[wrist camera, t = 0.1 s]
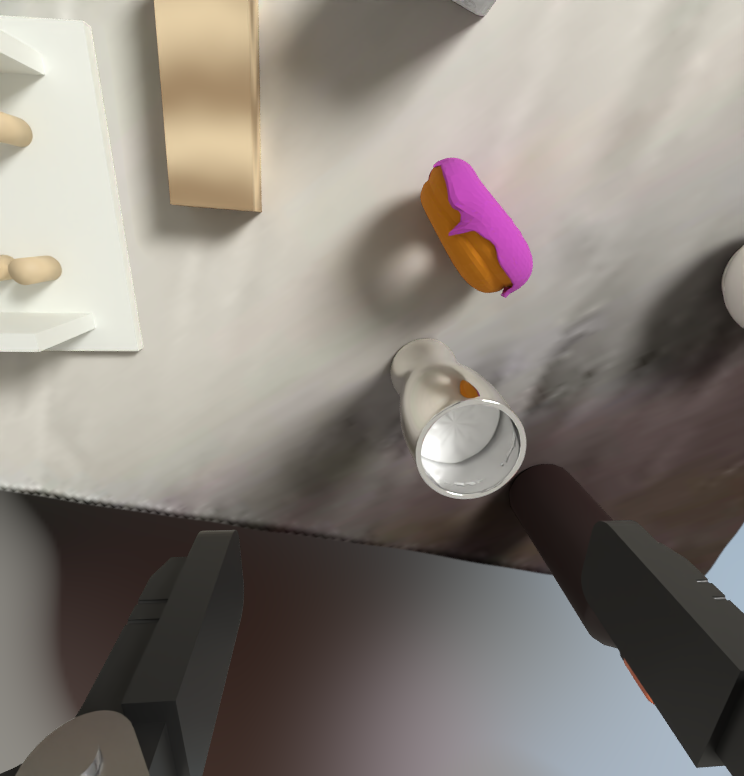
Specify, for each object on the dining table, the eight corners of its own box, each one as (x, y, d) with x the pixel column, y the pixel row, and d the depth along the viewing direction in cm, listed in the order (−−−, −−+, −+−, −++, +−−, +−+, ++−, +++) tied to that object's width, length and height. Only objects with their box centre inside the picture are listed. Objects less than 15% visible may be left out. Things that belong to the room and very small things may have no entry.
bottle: (581, 467, 44) (761, 645, 25) (558, 522, 46) (708, 723, 28) (519, 457, 43) (659, 635, 24) (498, 513, 45) (612, 716, 27)
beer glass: (371, 386, 39) (389, 475, 25) (410, 318, 37) (454, 374, 23) (435, 418, 41) (486, 518, 27) (476, 355, 39) (554, 428, 25)
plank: (173, -23, 29) (148, -61, 25) (258, -13, 29) (246, -48, 25) (189, 206, 33) (170, 204, 30) (262, 212, 34) (252, 210, 30)
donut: (509, 163, 34) (574, 139, 24) (502, 285, 37) (558, 305, 28) (408, 168, 33) (435, 146, 24) (410, 290, 37) (436, 313, 27)
